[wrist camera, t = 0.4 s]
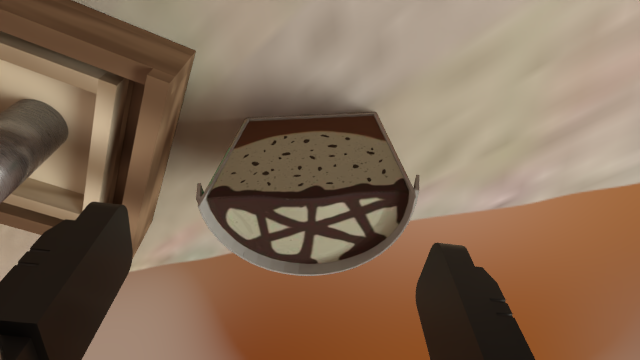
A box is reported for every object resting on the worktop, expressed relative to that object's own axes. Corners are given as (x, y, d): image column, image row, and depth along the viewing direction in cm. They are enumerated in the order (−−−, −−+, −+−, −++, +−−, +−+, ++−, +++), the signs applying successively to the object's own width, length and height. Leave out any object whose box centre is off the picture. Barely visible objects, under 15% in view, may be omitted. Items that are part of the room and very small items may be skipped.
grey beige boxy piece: (-40, -1, 23) (-207, 48, 16) (136, 67, 26) (61, 137, 18) (-28, 160, 30) (-144, 247, 22) (112, 203, 32) (49, 295, 25)
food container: (239, 187, 33) (211, 285, 25) (225, 118, 29) (187, 206, 21) (392, 181, 32) (416, 279, 24) (397, 111, 29) (426, 197, 21)
